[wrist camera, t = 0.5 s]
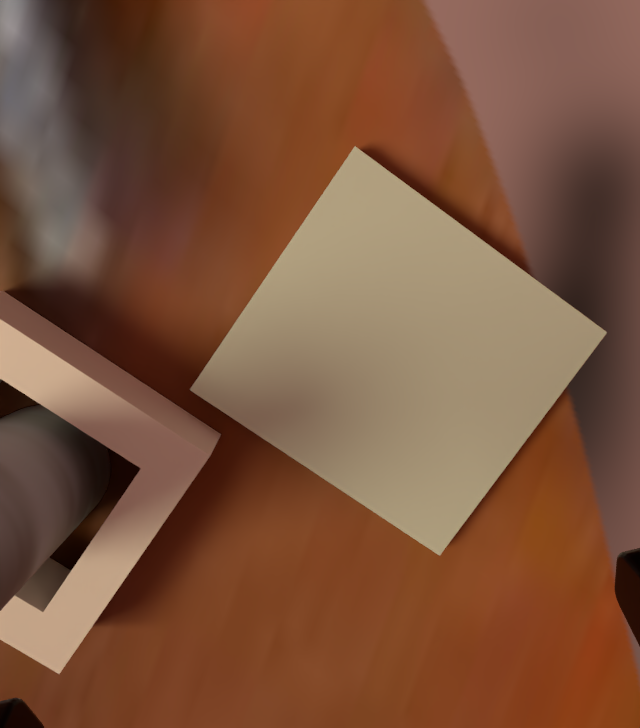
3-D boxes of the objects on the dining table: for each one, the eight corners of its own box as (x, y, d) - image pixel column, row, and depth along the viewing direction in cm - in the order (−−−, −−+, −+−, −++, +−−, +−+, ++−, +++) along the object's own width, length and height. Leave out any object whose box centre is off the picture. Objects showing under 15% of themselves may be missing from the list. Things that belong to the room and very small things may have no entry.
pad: (435, 547, 25) (439, 555, 24) (193, 386, 24) (189, 389, 23) (596, 330, 24) (607, 332, 23) (353, 150, 23) (355, 146, 22)
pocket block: (87, 627, 25) (59, 674, 22) (-128, 497, 24) (-189, 528, 21) (221, 434, 24) (210, 455, 21) (3, 290, 23) (-41, 292, 20)
